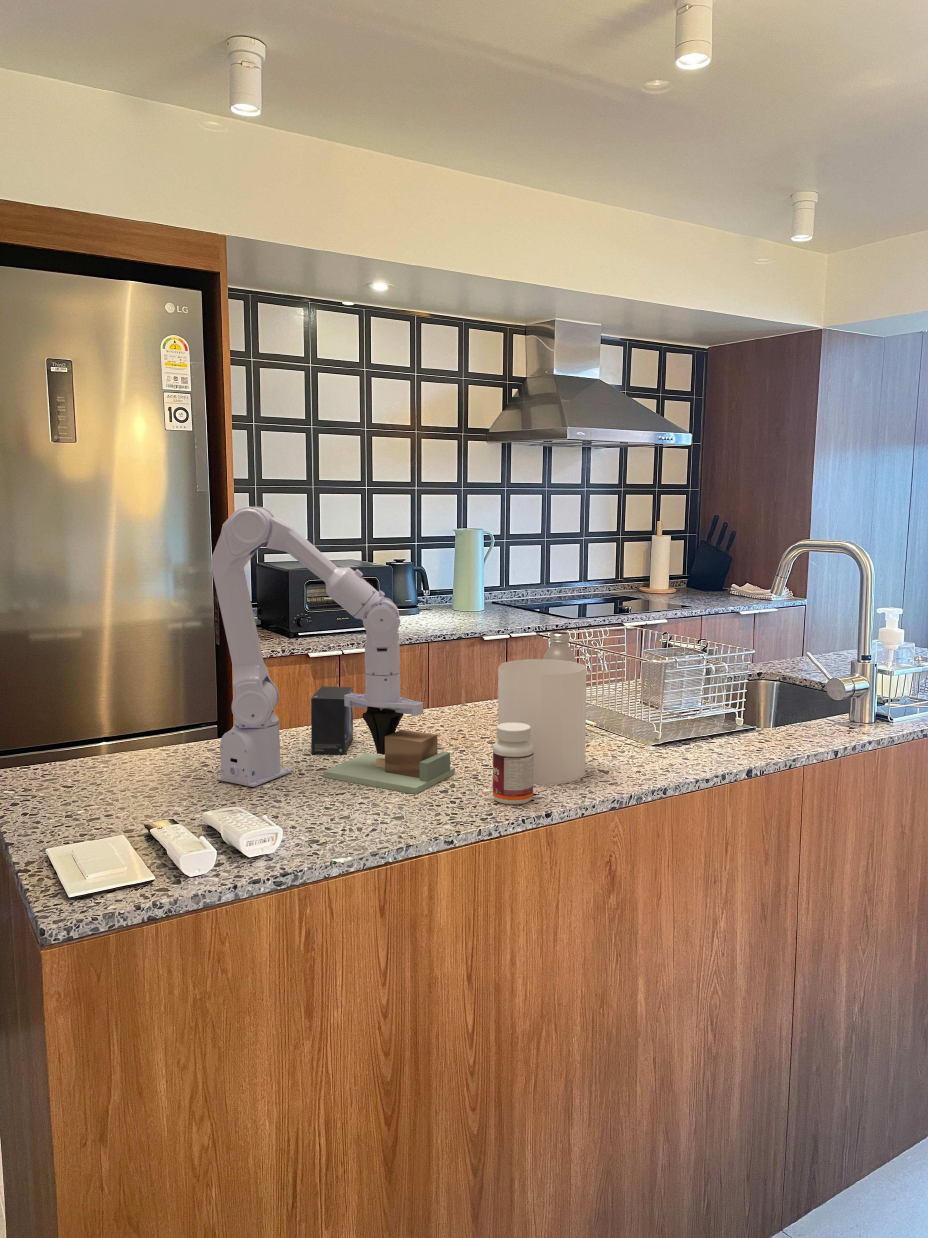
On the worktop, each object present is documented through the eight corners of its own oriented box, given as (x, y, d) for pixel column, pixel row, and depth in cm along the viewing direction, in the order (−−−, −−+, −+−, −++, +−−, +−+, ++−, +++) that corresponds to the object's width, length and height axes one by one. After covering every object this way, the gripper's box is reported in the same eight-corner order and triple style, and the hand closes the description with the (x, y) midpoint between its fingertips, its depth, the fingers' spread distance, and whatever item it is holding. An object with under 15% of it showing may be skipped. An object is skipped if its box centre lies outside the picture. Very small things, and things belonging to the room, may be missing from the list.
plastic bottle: (538, 737, 169) (539, 634, 166) (545, 729, 175) (546, 629, 173) (571, 740, 167) (573, 636, 164) (577, 731, 173) (579, 631, 171)
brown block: (421, 778, 141) (421, 742, 140) (385, 772, 144) (384, 736, 143) (437, 770, 145) (437, 734, 144) (402, 764, 148) (401, 729, 147)
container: (489, 763, 153) (489, 661, 151) (566, 757, 156) (567, 657, 154) (514, 789, 139) (514, 676, 137) (598, 781, 143) (600, 672, 140)
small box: (346, 755, 158) (345, 697, 156) (310, 755, 158) (308, 697, 156) (355, 739, 168) (354, 685, 167) (321, 739, 168) (319, 685, 167)
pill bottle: (490, 793, 137) (490, 721, 135) (529, 791, 137) (530, 720, 136) (495, 806, 130) (495, 732, 129) (536, 805, 131) (537, 730, 130)
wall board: (415, 794, 136) (415, 769, 135) (323, 777, 145) (322, 753, 144) (454, 773, 146) (454, 750, 146) (366, 758, 155) (365, 736, 155)
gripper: (432, 672, 145) (433, 752, 147) (361, 664, 152) (362, 741, 154) (409, 680, 139) (410, 763, 141) (336, 671, 146) (337, 751, 148)
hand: (383, 752), depth 147 cm, fingers closed
